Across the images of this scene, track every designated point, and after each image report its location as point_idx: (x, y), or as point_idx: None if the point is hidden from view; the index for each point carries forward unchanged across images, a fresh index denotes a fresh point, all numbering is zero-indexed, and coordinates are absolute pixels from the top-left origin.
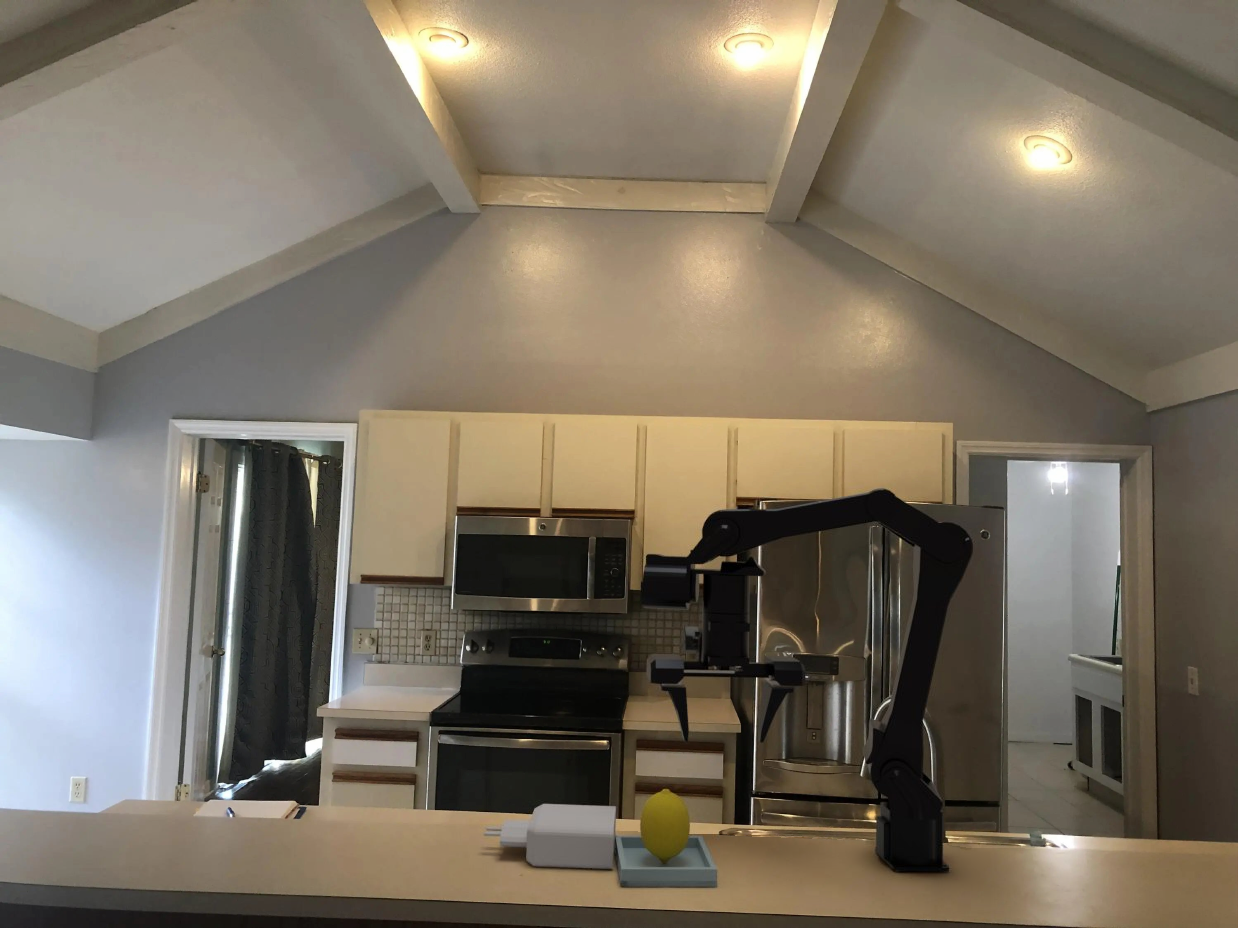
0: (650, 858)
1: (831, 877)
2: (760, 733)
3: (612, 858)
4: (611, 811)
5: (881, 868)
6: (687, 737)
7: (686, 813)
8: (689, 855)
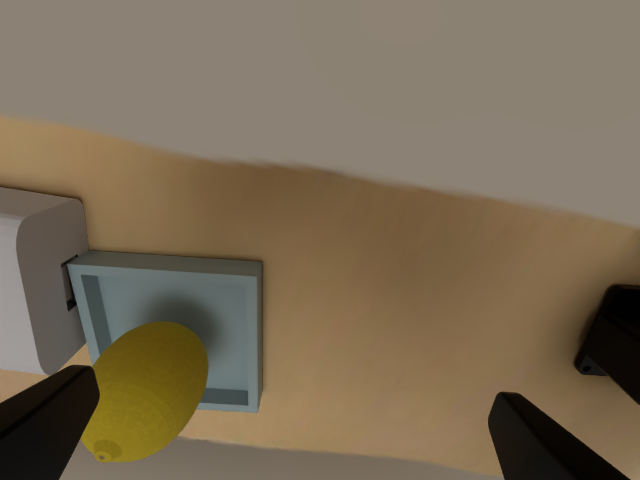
0: (156, 315)
1: (454, 373)
2: (508, 477)
3: (83, 343)
4: (13, 285)
5: (562, 350)
6: (82, 427)
7: (181, 429)
8: (230, 306)
